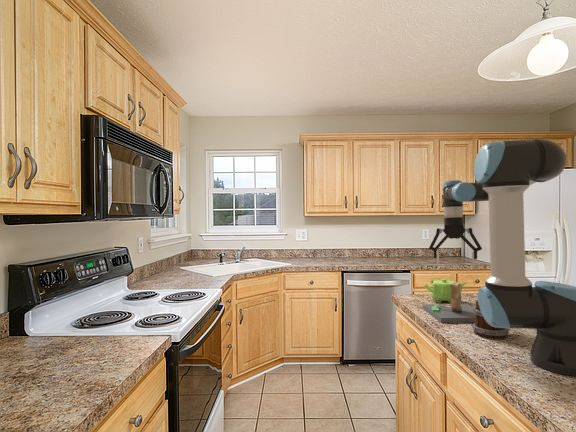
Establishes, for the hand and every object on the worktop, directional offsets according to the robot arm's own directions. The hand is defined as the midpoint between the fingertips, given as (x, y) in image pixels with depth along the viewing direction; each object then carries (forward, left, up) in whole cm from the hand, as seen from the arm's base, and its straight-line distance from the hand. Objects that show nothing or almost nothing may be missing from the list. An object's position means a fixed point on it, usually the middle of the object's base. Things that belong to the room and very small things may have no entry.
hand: (455, 266), depth 149 cm
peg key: (+2, +3, -19) cm, 20 cm away
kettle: (+25, -5, -22) cm, 34 cm away
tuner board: (+2, 0, -21) cm, 21 cm away
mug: (-22, -4, -22) cm, 31 cm away
